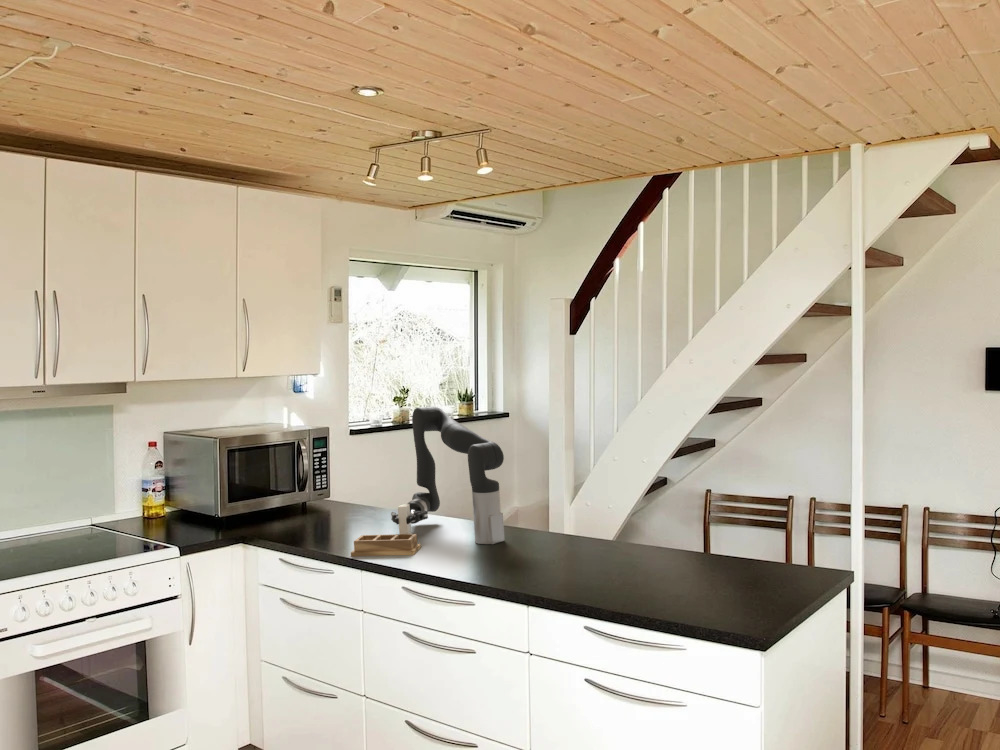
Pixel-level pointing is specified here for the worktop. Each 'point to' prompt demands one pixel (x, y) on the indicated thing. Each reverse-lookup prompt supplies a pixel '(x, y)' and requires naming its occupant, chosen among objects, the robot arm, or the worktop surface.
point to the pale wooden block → (404, 519)
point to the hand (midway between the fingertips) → (402, 521)
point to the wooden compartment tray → (386, 545)
